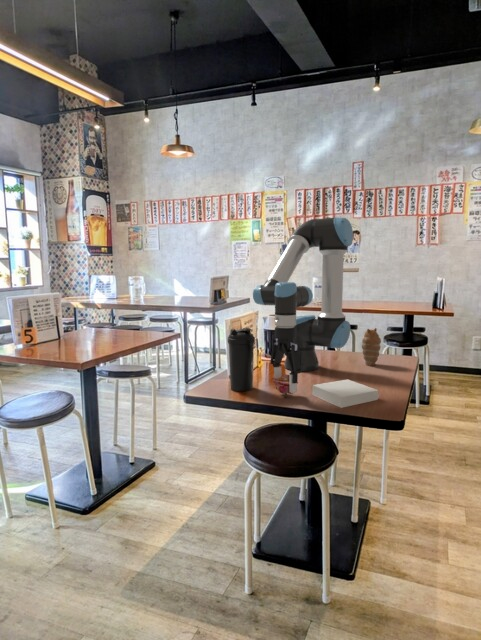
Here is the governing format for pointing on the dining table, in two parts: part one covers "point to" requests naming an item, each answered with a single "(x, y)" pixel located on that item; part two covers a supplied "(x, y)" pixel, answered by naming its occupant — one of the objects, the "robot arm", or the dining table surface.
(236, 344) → the water bottle
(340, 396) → the block
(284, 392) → the flower
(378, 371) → the dining table surface
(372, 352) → the cat ice cream
